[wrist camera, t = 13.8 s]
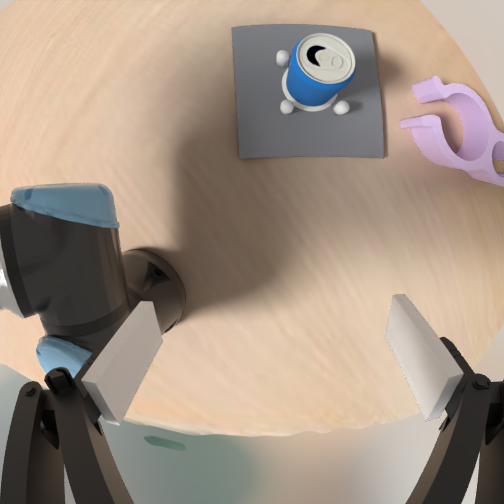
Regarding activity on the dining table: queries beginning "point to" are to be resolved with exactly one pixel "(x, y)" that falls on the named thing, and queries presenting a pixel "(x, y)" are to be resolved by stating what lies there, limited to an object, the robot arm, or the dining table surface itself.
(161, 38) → the dining table surface
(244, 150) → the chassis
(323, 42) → the beverage can
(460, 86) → the clip
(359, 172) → the dining table surface
